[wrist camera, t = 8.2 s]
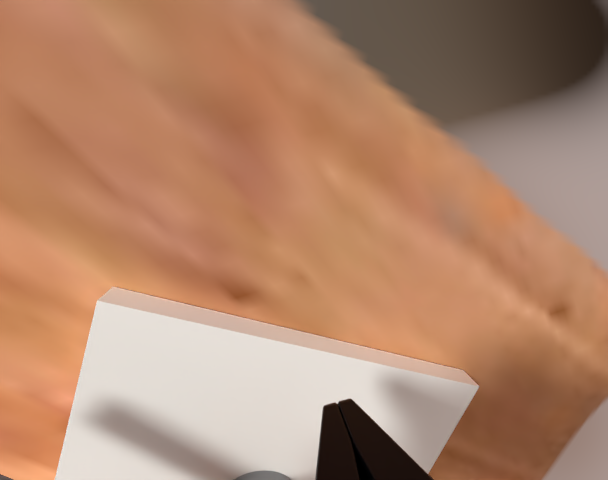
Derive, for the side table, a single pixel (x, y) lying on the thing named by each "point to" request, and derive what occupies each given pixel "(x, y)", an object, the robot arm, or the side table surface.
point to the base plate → (236, 396)
